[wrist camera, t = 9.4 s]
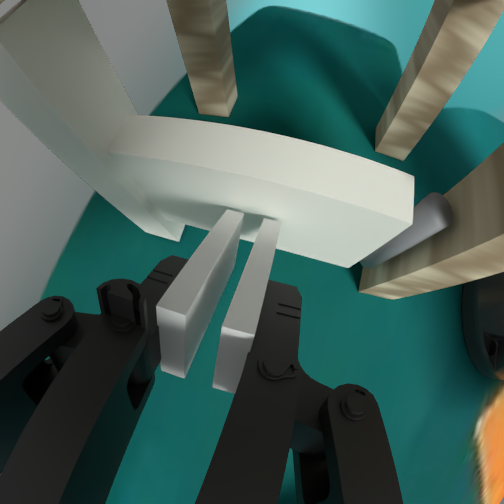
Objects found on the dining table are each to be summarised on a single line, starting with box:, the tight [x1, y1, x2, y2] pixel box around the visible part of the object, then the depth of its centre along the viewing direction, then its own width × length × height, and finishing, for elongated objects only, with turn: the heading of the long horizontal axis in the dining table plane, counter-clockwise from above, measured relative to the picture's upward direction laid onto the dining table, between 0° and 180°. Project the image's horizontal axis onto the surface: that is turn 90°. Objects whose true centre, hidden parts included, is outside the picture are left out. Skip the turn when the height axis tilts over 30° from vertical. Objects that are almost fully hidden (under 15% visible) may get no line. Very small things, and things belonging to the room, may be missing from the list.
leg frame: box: [0, 0, 453, 269], centre depth 11 cm, size 17×3×19 cm, turn 74°
